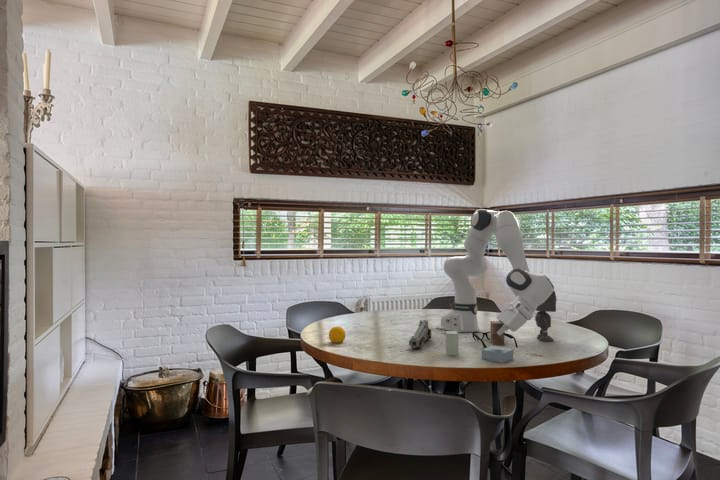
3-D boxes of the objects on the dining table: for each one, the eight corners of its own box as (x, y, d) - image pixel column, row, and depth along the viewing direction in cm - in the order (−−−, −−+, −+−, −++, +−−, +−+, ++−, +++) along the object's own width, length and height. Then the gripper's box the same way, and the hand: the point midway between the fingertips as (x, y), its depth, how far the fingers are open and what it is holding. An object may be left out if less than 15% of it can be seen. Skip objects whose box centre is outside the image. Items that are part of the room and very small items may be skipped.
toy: (431, 338, 218) (430, 318, 216) (421, 360, 196) (420, 338, 194) (420, 337, 220) (419, 317, 218) (408, 358, 198) (407, 337, 196)
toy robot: (559, 345, 204) (559, 279, 204) (538, 344, 206) (538, 278, 206) (549, 335, 226) (549, 275, 225) (530, 334, 227) (530, 274, 227)
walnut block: (493, 345, 181) (492, 323, 180) (490, 343, 185) (490, 321, 185) (504, 345, 180) (504, 323, 180) (501, 343, 185) (501, 321, 185)
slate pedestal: (481, 359, 183) (481, 349, 183) (492, 355, 189) (492, 345, 189) (502, 363, 176) (502, 353, 176) (513, 359, 183) (513, 349, 183)
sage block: (447, 355, 188) (447, 333, 188) (445, 352, 193) (445, 331, 193) (458, 355, 188) (458, 333, 188) (456, 352, 192) (456, 331, 192)
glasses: (501, 341, 218) (500, 330, 218) (519, 348, 201) (519, 337, 201) (468, 342, 215) (468, 332, 215) (484, 350, 198) (484, 338, 198)
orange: (334, 339, 216) (334, 324, 216) (348, 341, 213) (348, 325, 213) (325, 343, 209) (325, 327, 209) (340, 345, 206) (340, 328, 206)
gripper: (508, 299, 192) (484, 322, 193) (522, 306, 172) (496, 332, 173) (519, 309, 192) (495, 332, 193) (534, 318, 172) (507, 343, 172)
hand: (495, 332), depth 183 cm, fingers closed on walnut block, 4 cm apart
